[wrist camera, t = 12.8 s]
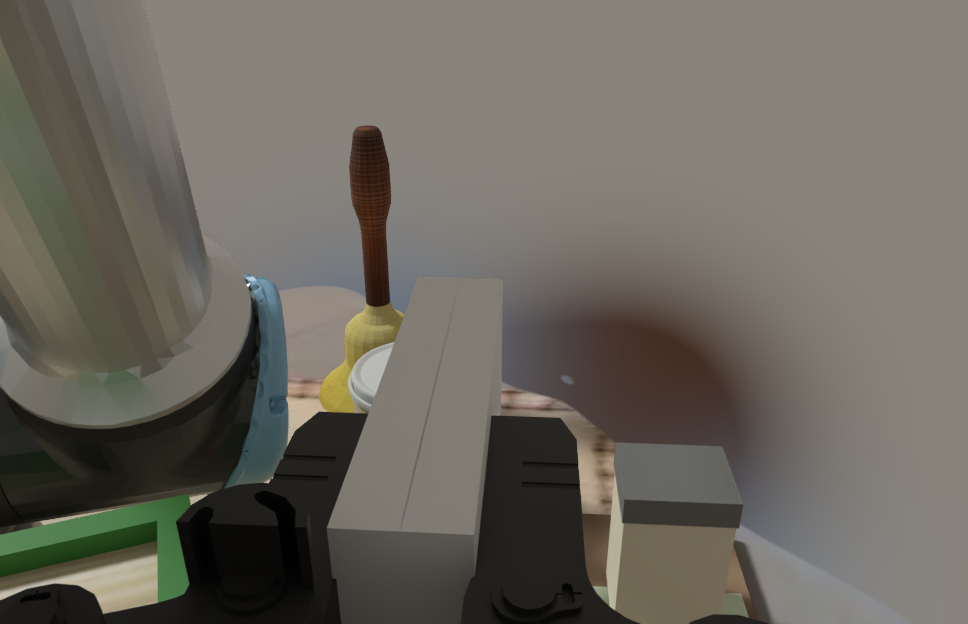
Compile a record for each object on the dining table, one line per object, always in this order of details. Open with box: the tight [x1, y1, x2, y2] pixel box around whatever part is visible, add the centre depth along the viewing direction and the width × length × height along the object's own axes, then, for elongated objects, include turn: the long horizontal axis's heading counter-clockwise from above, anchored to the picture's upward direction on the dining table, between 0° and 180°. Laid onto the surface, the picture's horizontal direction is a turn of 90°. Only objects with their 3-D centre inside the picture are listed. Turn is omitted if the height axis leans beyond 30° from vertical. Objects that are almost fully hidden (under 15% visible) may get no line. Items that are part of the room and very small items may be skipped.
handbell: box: [319, 126, 405, 413], centre depth 69 cm, size 12×12×25 cm
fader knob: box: [606, 443, 743, 624], centre depth 45 cm, size 5×6×10 cm
